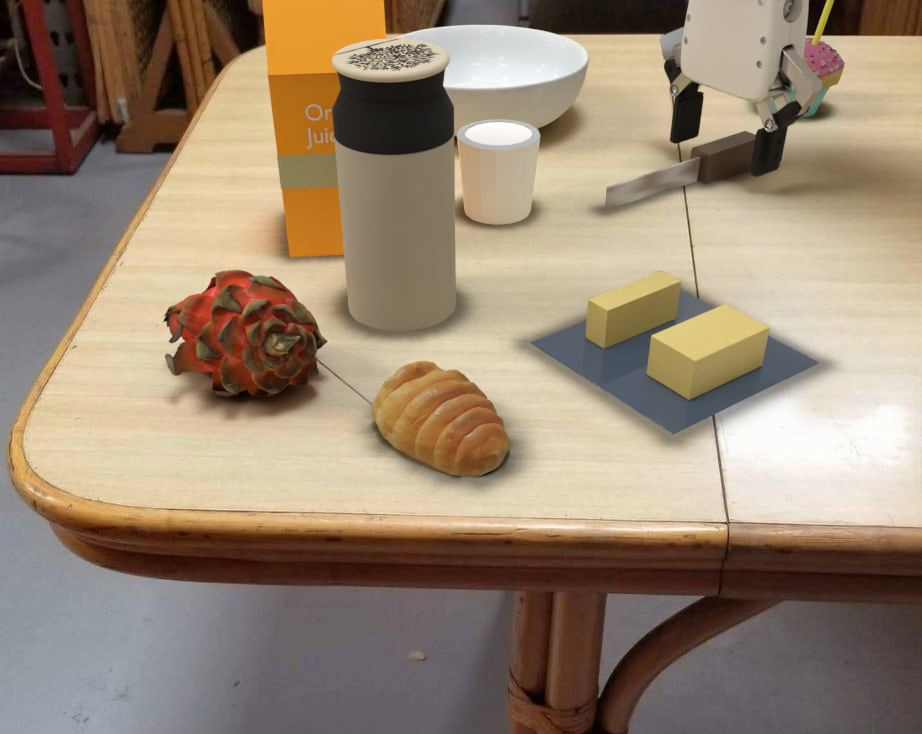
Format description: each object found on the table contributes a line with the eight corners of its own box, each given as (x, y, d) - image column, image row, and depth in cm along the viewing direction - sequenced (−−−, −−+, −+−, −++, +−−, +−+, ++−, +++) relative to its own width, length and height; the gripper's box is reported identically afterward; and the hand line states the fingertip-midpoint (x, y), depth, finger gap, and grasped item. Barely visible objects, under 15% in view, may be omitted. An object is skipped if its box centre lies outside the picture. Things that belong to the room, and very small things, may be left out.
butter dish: (671, 291, 81) (672, 284, 81) (817, 369, 73) (819, 362, 73) (529, 349, 75) (529, 342, 75) (671, 442, 67) (672, 434, 66)
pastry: (537, 458, 66) (539, 406, 63) (450, 501, 63) (449, 449, 60) (444, 392, 71) (442, 342, 69) (360, 430, 68) (355, 378, 66)
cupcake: (839, 105, 112) (867, -22, 104) (824, 133, 106) (853, 1, 98) (757, 94, 114) (778, -30, 106) (738, 121, 108) (759, -9, 101)
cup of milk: (521, 193, 95) (523, 113, 91) (549, 225, 90) (553, 142, 86) (447, 204, 94) (446, 123, 89) (471, 236, 89) (471, 152, 84)
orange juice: (292, 221, 91) (261, -40, 78) (395, 216, 92) (382, -44, 79) (289, 262, 86) (255, -12, 72) (399, 257, 86) (386, -16, 73)
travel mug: (476, 318, 79) (477, 61, 67) (381, 349, 75) (365, 84, 64) (421, 276, 84) (413, 29, 72) (330, 302, 80) (306, 49, 69)
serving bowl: (627, 132, 106) (634, 59, 102) (454, 181, 97) (453, 104, 93) (503, 77, 119) (504, 10, 115) (340, 116, 110) (334, 45, 106)
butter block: (718, 342, 75) (725, 303, 73) (762, 366, 72) (770, 326, 70) (645, 374, 72) (650, 335, 70) (689, 400, 69) (695, 360, 67)
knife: (739, 162, 100) (745, 130, 98) (757, 169, 99) (763, 137, 97) (596, 211, 92) (599, 177, 90) (614, 220, 91) (617, 185, 89)
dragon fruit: (327, 436, 70) (192, 410, 76) (370, 320, 72) (234, 302, 77) (254, 380, 63) (110, 355, 68) (304, 252, 64) (158, 238, 70)
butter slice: (656, 308, 78) (661, 270, 76) (676, 318, 77) (681, 280, 75) (584, 337, 75) (587, 299, 73) (604, 349, 74) (607, 310, 72)
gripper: (875, -45, 82) (826, 175, 93) (708, -83, 92) (683, 119, 103) (810, -30, 78) (768, 197, 90) (645, -70, 89) (626, 137, 100)
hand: (722, 155), depth 96 cm, fingers open, 9 cm apart
